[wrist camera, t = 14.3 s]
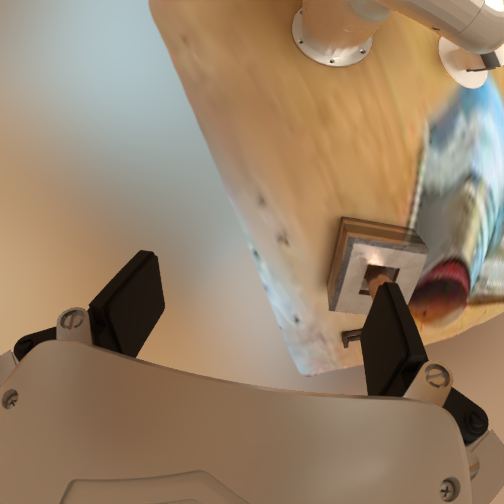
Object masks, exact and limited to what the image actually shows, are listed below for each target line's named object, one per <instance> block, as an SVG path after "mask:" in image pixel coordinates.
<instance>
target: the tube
mask: <svg viewBox="0 0 504 504" xmlns="http://www.w3.org/2000/svg"><path fill="white" fill-rule="evenodd" d="M365 278H366V282H367V285H368V288H369V291H370V295H371V298H372V302H373V300H374V297H375V295H376V292H377V289H378V286H379V285H383V283H384V282H392V280H391V278H390V275H389V273H388V271H387V269H386V267H385V266H378V265H371V264H368V265H367V269H366V272H365Z"/></svg>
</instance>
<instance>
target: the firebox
mask: <svg viewBox="0 0 504 504" xmlns="http://www.w3.org/2000/svg"><path fill="white" fill-rule="evenodd" d="M428 252H429V248H428V247H427V246H426V244H425V243H424V242H423V241H422V239H421V238H420V237H419V236H418V234H417V233H416V232H415V231H414V229H410V228H405V227H400V226H394V225H389V224H383V223H378V222H372V221H366V220H360V219H354V218H348V217H342V219H341V224H340V228H339V233H338V238H337V242H336V247H335V251H334V256H333V260H332V264H331V269H330V273H329V277H328V281H327V292H328V303H329V311H336V312H345V313H355V314H364V315H368V314H369V311H370V308H371V306H372V303H373V302H372V298H371V295H370V291H369V288H368V285H367V282H366V278H365V272H366V269H367V265H368V264H371V265H378V266H385V267H386V269H387V271H388V273H389V275H390V278H391V280H392V282H393V283H398V285H399V287H400V289H401V292H402V294H403V296H404V299H405V301H406V304H407V305H408V302H409V300H410V298H411V296H412V293H413V291H414V288H415V286H416V284H417V281H418V279H419V276H420V274H421V271H422V268H423V266H424V263H425V260H426V258H427V255H428Z"/></svg>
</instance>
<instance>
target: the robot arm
mask: <svg viewBox="0 0 504 504" xmlns="http://www.w3.org/2000/svg"><path fill="white" fill-rule="evenodd" d="M392 10H394V11H398V12H400V13H402V14H404V15H406V16H408V17H409V18H411V19H413V20H415V21H417V22H419V23H421V24H422V25H424V26H426V27H428V28H429V29H431V30H433V31H434V32H436V33H438V34H439V35H441V36H442V37H444V38H446V39H447V40H449V41H450V42H452V43H453V44H455V45H457V46H458V47H460V48H462V49H464V50H466V51H468V52H471V53H475V54H487V53H490V52H493V51H495V50H496V49H498V48H499V47H501V46H502V45H503V44H504V0H302V8H301V9H299V11H298V12H297V13H296V14H295V17H294V19H293V23H292V34H293V38H294V40H295V43H296V45H297V46H298V48H299V49H300V50H301V51H302V52H303V53H304V54H305V55H306V56H307V57H308V58H310V59H311V60H313V61H315V62H317V63H319V64H322V65H325V66H329V67H348V66H351V65H354V64H356V63H358V62H360V61H361V60H362V59H364V58H365V57H366V56H367V54H368V53H369V51H370V49H371V46H372V43H373V34H374V33H375V32H376V31H377V30H378V29H379V28H380V27H381V26H382V24H383V23H384V22H385V21H386V20H387V19H388V18H389V16H390V15H391V13H392ZM301 14H302V15H301ZM299 42H303V43H302V44H300V43H299ZM361 52H363V54H361ZM329 61H332V62H333V63H330V62H329ZM89 307H90V308H89V309H88V310H87V311H86V310H85V309H83V308H79V307H75V308H71V309H68V310H66V311H64V312H63V313H62V314H61V315H60V316H59V318H58V319H57V326H56V327H53V328H49V329H46V330H43V331H40V332H36V333H33V334H29V335H26V336H24V337H22V338H21V339H20V340H18V342H17V343H16V344H15V346H14V352H11V350H9V351H8V352H6V353H4V354H3V355H1V356H0V504H489V503H490V502H491V501H492V500H493V499H494V497H495V496H496V495H497V494H498V492H499V491H500V490H501V488H502V487H503V486H504V445H503V443H502V442H501V441H500V439H499V438H498V437H497V435H496V434H495V433H494V431H493V430H491V431H489V430H488V429H487V428H488V417H487V415H486V413H485V411H484V410H483V409H482V408H480V407H479V406H478V405H476V404H475V403H473V402H472V401H471V400H469V399H468V398H467V397H465V396H464V395H463V394H461V393H460V392H458V391H457V390H456V389H454V388H453V387H452V385H453V375H452V373H451V371H450V369H449V368H448V367H447V366H446V365H445V364H443V363H441V362H438V361H429V360H428V357H427V354H426V351H425V349H424V346H423V343H422V340H421V337H420V335H419V332H418V329H417V327H416V324H415V321H414V319H413V317H412V316H411V313H410V311H409V308H408V306H407V304H406V301H405V299H404V296H403V294H402V292H401V289H400V287H399V285H398V283H393V282H384V283H383V285H379V286H378V289H377V292H376V295H375V297H374V300H373V303H372V306H371V308H370V311H369V314H368V316H367V319H366V321H365V324H364V326H363V329H362V331H361V335H360V341H361V348H362V354H363V361H364V368H365V375H366V383H367V391H368V396H364V395H345V394H328V393H315V392H304V391H295V390H286V389H278V388H270V387H263V386H257V385H250V384H244V383H238V382H233V381H227V380H221V379H216V378H212V377H207V376H203V375H198V374H194V373H189V372H185V371H181V370H177V369H173V368H169V367H165V366H161V365H158V364H154V363H151V362H147V361H144V360H140V359H137V358H136V356H137V355H138V353H139V351H140V350H141V348H142V346H143V345H144V343H145V341H146V340H147V338H148V336H149V334H150V333H151V331H152V330H153V328H154V326H155V325H156V323H157V321H158V320H159V318H160V316H161V315H162V313H163V311H164V309H165V302H164V296H163V290H162V283H161V277H160V270H159V263H158V257H157V256H156V255H155V254H154V252H151V251H144V250H140V251H139V252H138V253H137V254H136V255H135V256H134V257H133V258H132V259H131V260H130V261H129V262H128V263H127V264H126V265H125V266H124V267H123V268H122V269H121V270H120V271H119V273H117V274H116V276H115V277H114V278H113V279H112V280H111V281H110V282H109V283H108V284H107V285H106V286H105V287H104V289H102V291H101V292H100V293H99V294H98V295H97V296H96V297H95V298H94V300H93V301H92V302H91V303H90V304H89Z"/></svg>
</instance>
